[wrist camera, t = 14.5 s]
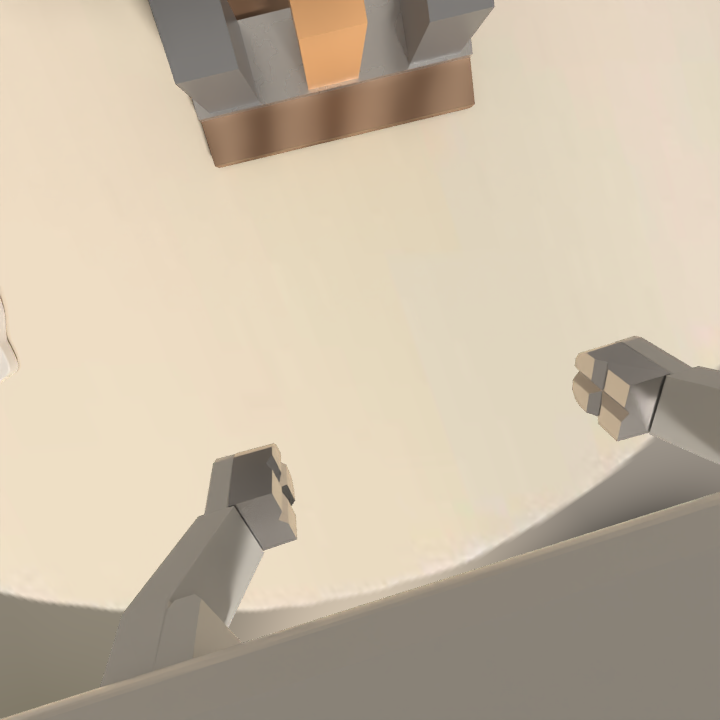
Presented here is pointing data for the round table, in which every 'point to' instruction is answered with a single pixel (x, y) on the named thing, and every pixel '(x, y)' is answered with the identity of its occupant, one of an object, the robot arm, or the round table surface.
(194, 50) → the mounted modules
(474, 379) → the round table surface
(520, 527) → the round table surface
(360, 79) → the light grey flat plate
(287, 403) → the round table surface
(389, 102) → the board
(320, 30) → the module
